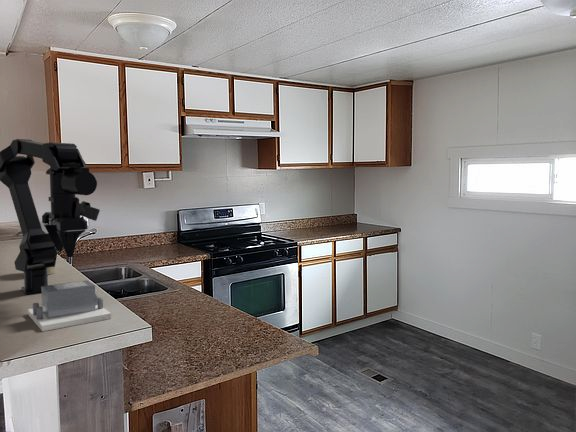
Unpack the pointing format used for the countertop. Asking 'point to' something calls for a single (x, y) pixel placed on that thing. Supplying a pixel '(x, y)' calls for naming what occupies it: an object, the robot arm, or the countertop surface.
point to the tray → (69, 320)
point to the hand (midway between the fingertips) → (64, 254)
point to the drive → (68, 298)
